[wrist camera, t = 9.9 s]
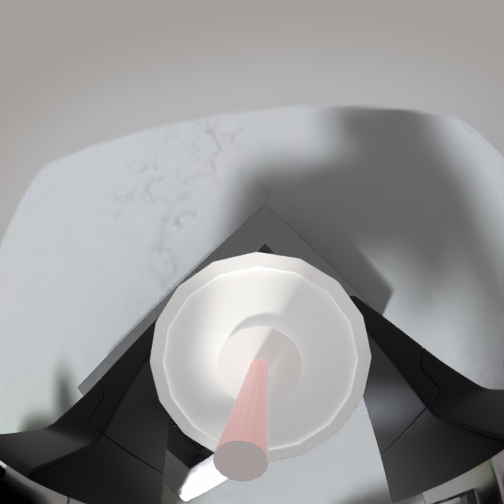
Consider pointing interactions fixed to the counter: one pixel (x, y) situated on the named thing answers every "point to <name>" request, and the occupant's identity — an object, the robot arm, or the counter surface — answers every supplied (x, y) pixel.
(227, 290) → the beverage cup
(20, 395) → the counter surface
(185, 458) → the socket block
